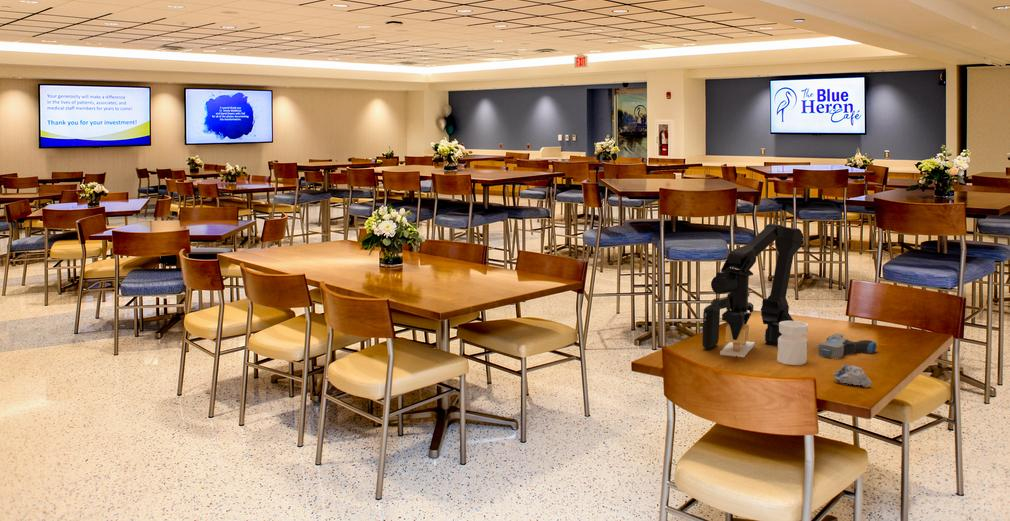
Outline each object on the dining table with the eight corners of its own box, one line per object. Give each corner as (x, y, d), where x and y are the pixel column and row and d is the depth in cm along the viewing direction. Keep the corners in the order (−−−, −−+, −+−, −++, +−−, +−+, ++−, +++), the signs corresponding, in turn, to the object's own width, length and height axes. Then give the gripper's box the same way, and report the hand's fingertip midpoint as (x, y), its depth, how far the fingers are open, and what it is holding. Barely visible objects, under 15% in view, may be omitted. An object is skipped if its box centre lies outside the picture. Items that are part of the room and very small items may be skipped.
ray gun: (879, 339, 279) (831, 332, 288) (866, 351, 264) (816, 344, 272) (878, 351, 280) (830, 345, 288) (865, 365, 265) (815, 357, 273)
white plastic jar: (786, 365, 263) (787, 327, 261) (771, 358, 271) (773, 321, 269) (811, 364, 264) (814, 326, 262) (797, 356, 273) (799, 320, 271)
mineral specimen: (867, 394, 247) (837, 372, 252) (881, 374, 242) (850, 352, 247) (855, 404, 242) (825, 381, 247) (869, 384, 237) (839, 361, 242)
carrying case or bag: (708, 352, 278) (709, 307, 276) (699, 350, 280) (700, 306, 278) (719, 345, 287) (721, 302, 285) (711, 343, 289) (712, 301, 286)
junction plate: (754, 345, 287) (755, 332, 286) (743, 357, 272) (744, 343, 271) (732, 342, 290) (732, 329, 290) (720, 354, 275) (720, 341, 275)
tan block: (748, 339, 278) (748, 324, 277) (744, 343, 272) (744, 328, 272) (729, 337, 280) (730, 322, 279) (725, 341, 275) (725, 326, 274)
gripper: (720, 283, 285) (719, 328, 288) (706, 293, 269) (704, 341, 272) (754, 286, 280) (752, 332, 283) (742, 296, 264) (740, 345, 267)
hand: (737, 337), depth 276 cm, fingers closed on tan block, 6 cm apart
